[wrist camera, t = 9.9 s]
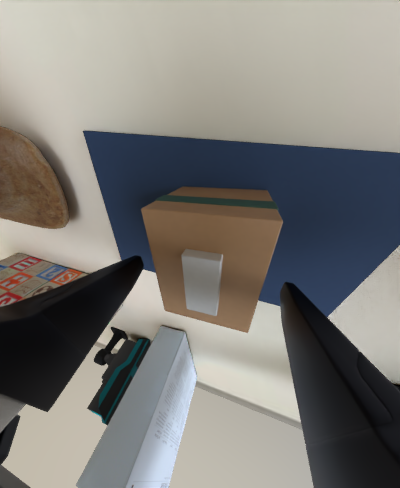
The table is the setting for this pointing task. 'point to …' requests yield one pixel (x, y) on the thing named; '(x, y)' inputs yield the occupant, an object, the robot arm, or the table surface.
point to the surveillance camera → (117, 373)
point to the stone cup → (29, 184)
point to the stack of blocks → (31, 278)
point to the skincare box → (147, 420)
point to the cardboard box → (212, 251)
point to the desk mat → (282, 193)
